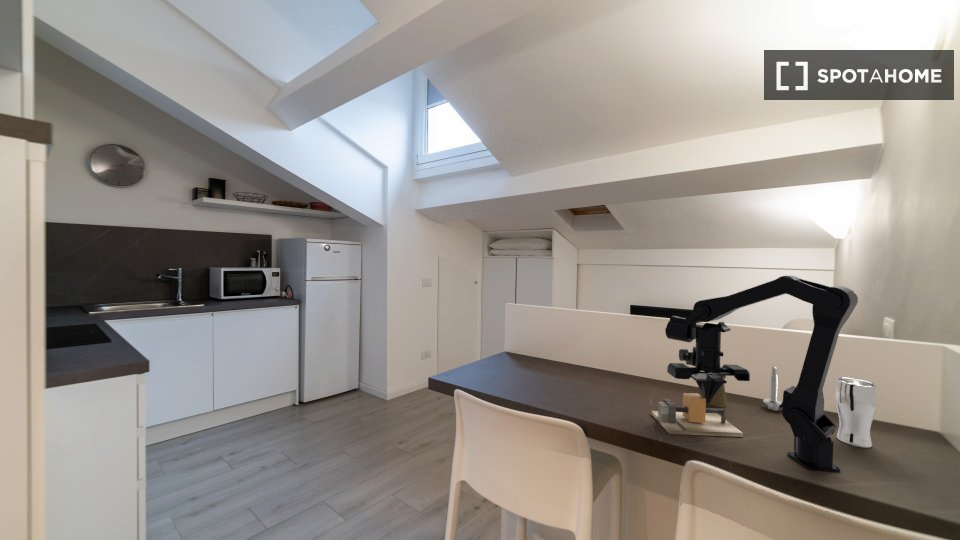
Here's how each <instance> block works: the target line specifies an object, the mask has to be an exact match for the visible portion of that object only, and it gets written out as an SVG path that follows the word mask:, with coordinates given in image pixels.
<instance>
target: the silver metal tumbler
mask: <svg viewBox="0 0 960 540" xmlns="http://www.w3.org/2000/svg"><path fill="white" fill-rule="evenodd" d="M836 382H837V383H836V388H835V390H836V391H835V404H836V410H837V413H838V415H837V416H838V420H839V425H838V430H837V434H836V438H837V439H838V440H839V441H840V442H842V443H845V444H847V445H850V446H854V447H859V448H863V449H864V448H865V449H868V448H871V447H872V446H873V443H872V438H871V427H872V424H873V420H874V416H875V414H876V409H877V389H876V384H875V383H873V382H872V381H869V380H868V381H867V380H863V379H858V378H852V377H838V378H837V381H836Z"/></svg>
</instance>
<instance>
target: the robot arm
mask: <svg viewBox="0 0 960 540" xmlns="http://www.w3.org/2000/svg"><path fill="white" fill-rule="evenodd" d="M783 295H789V296H791V297H794V298H796V299H797V300H800V301H803V302H806V303H807V304H808V303H809V304H811V305H812V321H813V329H812V332H811V336H810V339H809V343H808V345H807V350H806V354H805V357H804V362H803V363H802V367H801V372H800V375H799V379H798V382H797V385H796V386H794V385H791V386H789V387H787V388H786V389H784V390H783V392H782V401H781V402H782V403H781V405H780V406H779V407H778V408H781V416H782V417H783V419H784V420H785V421H786V422H787V423H788V425H789V427H790V429H791V431H792V434H793V451H787V455H788V456H789V457H791V458H792V459H793V460H795V461H796V462H798V463H800V465H802V466H803V467H805V468H806V469H807V470H811V471H812V470H813V471H833V472H841V468H840V467H839V466H838V465H836V464H835V463H833V462H834V446H835V445H834V444H835V443H834V441H833V440H832V437H831V436H832V435H833V434H834V433H835V431H836V430H837V428H838V426H837V425H836V423H834V422H833V421H832V420H831V419H830V418H829V417H828V416H827V415H826V414H825V398H824V397H825V396H824V390H823V389H824V385H825V383H826V379H827V375H828V372H829V369H830V366H831V363H832V359H833V355H834V351H835V349H836V346H837V342H838V339H839V335H840V332H841V330H842V328H844V325H845V324H846V323H847V322H848V320H849V318H850V317H851V315H852V314H853V311H854V310H855V308H856V307H857V305H858V301H859V298H858V295H857V294H856V293H855V292H854V291H853V290H852V289H851V288H849V287H846V286H843V285H835V286H827V285H826V284H825V285H824V284H822V283H819V282H818V283H817V282H813V281H811V280H806V279H802V278H799V277H797V276H795V275H783V276H782V275H781V276H779V277H778V278H776V279H774V280H770V281H768V282H765V283H762V284H757V285H756V286H753V287H750V288H746V289H744V290H741V291H738V292H736V293H733V294H732V293H731V294H729V295H726V296H721V297H713V298H707V299H701V300H698V301H697V302H695V303H694V305H693V307H692V311H691V312H690V313H689V314H688V316H687V317H682V316H681V317H680V316H679V315H678V316H677V315H672V316H669V321H668V322H667V324H666V327H665V329H664V330H665V332H664V333H665V336H666V338H667V339H668V340H675V341H679V342H685V343H692V342H693V341H695V346H693V348H692V351H691V352H690V351H689V349H685V348H681V349H679V350H678V359H679V361H681V362H678V363H677V362H670V363H669V364H668V365H667V371H666V373H668V374H669V375H670V376H672V377H673V378H674V379H678V380H690V379H692V380H693V381H695V382H696V384H697V386H698V388H699V389H698V390H699V391H700V395H701V396H702V397H704V398H705V399H706V405H708V404H709V403H710V401H711V400H712V398H713V397H714V395H715V394H716V392H717V391H718V389H719V388H720V387H721V386H722V385H723V384H724V385H725V384H727V383H728V381H727V380H726V379H725V380H724V376H726V377H732V376H733V377H734V379H735V380H737V381H738V382H750V381H751V373H750V372H749V371H750V370H748V369H746V368H745V367H742V366H741V365H738V364H725V363H724V364H723V365H722V366H721V357H724V352H723V351H721V347H722V346H721V344H722V343H721V342H722V333H726V332H730V331H731V328H730V327H729V326H728V325H727V324H725V322H724V321H720V322H718V323H711V321H712V322H713V321H717V320H721V319H723V318H724V317H727V316H728V315H731V314H732V313H734V312H735V311H737V310H739V309H741V308H744V307H748V306H751V305H755V304H757V303H760V302H763V301H764V302H765V301H767V300H770V299H773V298H777V297H780V296H783ZM699 323H704V324H703V325H702V324H699ZM682 362H685V364H684V363H682ZM688 365H689V366H688ZM690 366H693V367H690Z"/></svg>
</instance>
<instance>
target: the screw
mask: <svg viewBox="0 0 960 540" xmlns="http://www.w3.org/2000/svg"><path fill="white" fill-rule="evenodd" d="M777 371H778V368H777V367H776V366H771V372H770V373H771V374H770V385H769V387H770V388H769V389H770V390H769V395H770V396H769V398H763V400H762V402H763V403H764V404H766V405H767V409H768V410H770V411H777V412H779V408H780V407H779V406H780V405H781V403H782V401H781V400H778V389H779V387H778V383H779V379H778V376H779V375H778V372H777Z"/></svg>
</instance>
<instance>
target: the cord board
mask: <svg viewBox="0 0 960 540" xmlns="http://www.w3.org/2000/svg"><path fill="white" fill-rule="evenodd" d="M650 412H651V413H650V414H651V415H652V416H653V417H654V419H655V420H657V422H658V423H659V424H660V425H661V426H662V428H664V430H665V431H666V432H667V433H668V434H669V435H687V436H688V435H689V436H690V435H691V436H709V437H710V436H712V437H715V436H716V437H733V438H735V437H736V438H739V437H740V438H743V437H744V432H742V431H741V430H740V429H738V428H737V427H736V426H734V425H733V424H732V423H731V422H729V421H727V417H726V411H725V409H724V408H713V407H712V408H710V407H709V408H708V407H707V408H706V416H705V422H689V421H688V420H687V419H686V418H685V417H684V416H683V412H688V408H685V407H683V406H681V407H679V406H677V405H676V403H674V402H673V401H672V400H671V399H670V398H663V401H658V402H657V410H651V411H650Z"/></svg>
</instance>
